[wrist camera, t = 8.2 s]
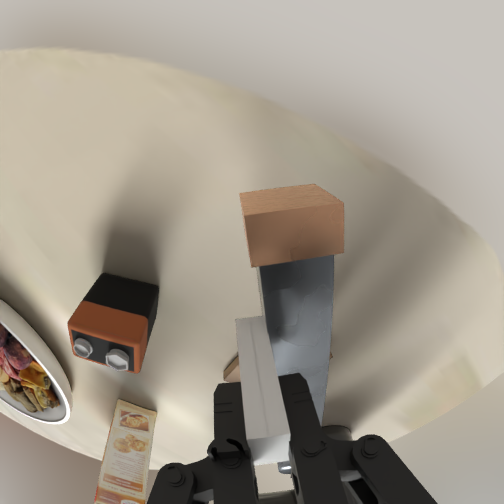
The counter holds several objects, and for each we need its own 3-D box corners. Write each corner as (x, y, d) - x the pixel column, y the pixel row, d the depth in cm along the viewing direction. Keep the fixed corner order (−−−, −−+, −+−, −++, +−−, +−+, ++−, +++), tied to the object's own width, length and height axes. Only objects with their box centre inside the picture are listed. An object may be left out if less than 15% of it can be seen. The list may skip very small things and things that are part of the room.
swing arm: (275, 451, 24) (280, 478, 20) (235, 193, 13) (238, 216, 9) (312, 444, 24) (319, 471, 21) (318, 183, 13) (348, 202, 10)
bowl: (71, 422, 40) (61, 450, 33) (-33, 349, 31) (-48, 371, 24) (91, 347, 31) (72, 389, 24) (-46, 242, 22) (-76, 264, 15)
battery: (156, 316, 29) (137, 384, 20) (102, 302, 28) (68, 363, 19) (160, 284, 28) (136, 350, 19) (101, 270, 27) (60, 328, 18)
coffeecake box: (117, 397, 36) (92, 503, 18) (158, 411, 37) (146, 518, 20) (111, 431, 41) (95, 512, 23) (144, 442, 42) (135, 524, 25)
